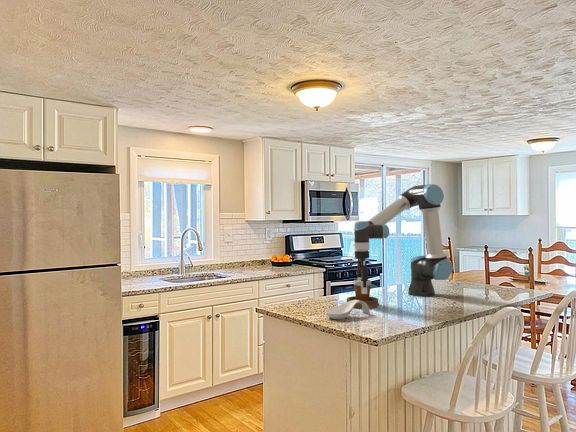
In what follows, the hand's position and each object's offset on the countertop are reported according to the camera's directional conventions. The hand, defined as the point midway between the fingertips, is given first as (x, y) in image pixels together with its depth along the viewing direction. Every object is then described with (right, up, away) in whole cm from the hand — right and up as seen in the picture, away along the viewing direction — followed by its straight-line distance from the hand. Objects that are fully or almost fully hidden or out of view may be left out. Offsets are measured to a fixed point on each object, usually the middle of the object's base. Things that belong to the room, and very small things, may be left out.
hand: (362, 291), depth 229 cm
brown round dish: (0, -7, 0) cm, 7 cm away
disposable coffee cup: (0, -6, 0) cm, 6 cm away
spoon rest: (-11, -8, -25) cm, 28 cm away
